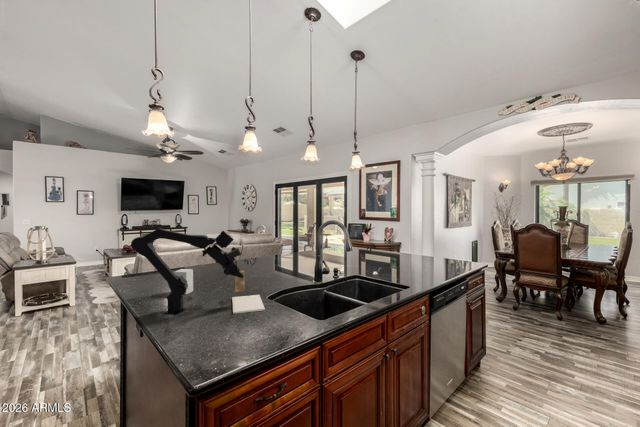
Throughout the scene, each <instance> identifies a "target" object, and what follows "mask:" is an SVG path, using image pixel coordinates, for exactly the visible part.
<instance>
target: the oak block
mask: <svg viewBox="0 0 640 427" xmlns="http://www.w3.org/2000/svg"><path fill="white" fill-rule="evenodd" d="M240 272H241V274H242V275H243V276H244V277H243V278H240V277H236V276H234V290H235V293H237V292H245V291H246V283H245V282H246V276H245V275H246V274H245V270H240Z"/></svg>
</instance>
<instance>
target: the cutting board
mask: <svg viewBox="0 0 640 427" xmlns="http://www.w3.org/2000/svg"><path fill="white" fill-rule="evenodd" d="M231 299H232V300H231V301H232V313H233V314H245V313H253V312H254V313H255V312H260V311H261V312H262V311H265V310H266V308H265V305H264V303H263V300H262V298H261V295H260V294H253V295H252V294H251V295H244V296H243V295H242V296H232V298H231Z"/></svg>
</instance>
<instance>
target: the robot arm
mask: <svg viewBox="0 0 640 427" xmlns="http://www.w3.org/2000/svg"><path fill="white" fill-rule="evenodd" d="M158 239H165V240H170V241H173V242H174V241H176V242H181V243H185V244H189V245H191V246H193V247H195V248H198V249H203V250H202V251H201V252H202V257H205V256H206V255H208V256H209V257H210V258H211V259H212V260H213V261H215V263H216V264H218V265H219V266H220V267H222V269H223V274H225V276H229V275H230V276H233V277H235V276H236V277H240V278H243V277H244V276H243V275H242V274H241V272H240V271H241V270H240V268H239V266H238V263H237V262H238V261H237V257H239V256H241V255H242V252H241V251H240V249H239V247H232V248H230V249H231V250H230V251H229V252H227V251H224V250H222V249H223V248H224V249H226V248H227V247H228V246H230V244H231V243H232V242H233V241H234V240H235V238H233V237H232V236H231V235H230V234H229V233H227V232H226V231H224V230H222V231H221V232H220V233H219V235H217V237H209V236H208V235H206V234H187V233H183V232H182V233H181V232H177V231H173V230H168V229H164V228H156V229H155V230H154V231H152V232H150V233H147V234H146V235H144V236H143V235H140V236H138V237H135V238H134V239H132V241H131V242H130V247H131V248H132V250H133V251H134V252H136V253H137V254H139V255H141V256H143V257H144V258H145V259H146V260H147V261H148V262H149V263H150V264H151V265H152V266H153V267H154V268H155V269H156V271H157V272H158V273H159V274H160V275H161V277H162V278H163V279H164V280H165V281H166V283H167V284H168V285H167V286H168V288H169V290H170V291H169V293H168V295H167V296H166V297H165V298H166V301H167V305H166V306H167V310H166V311H164V314H166V315H167V314H168V315H178V314H180V313H182V312H184V311H186V310H187V308H186V307H184V296H183V295H185V292H186V290H187V288H188V284H187V280H185V279H184V277H183V276H182V275H181V276H180V277H179V276H177V275H175V274H174V271H173V270H172V269H171V268H170V266H168V265H167V263H166V262H165V261H164V260H163V259H162V257H161V256H160V255H159V254H158V253H157V252H156V250H155V248H154V245H153V242H154V241H156V240H158ZM211 245H212V246H211Z"/></svg>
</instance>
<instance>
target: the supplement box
mask: <svg viewBox="0 0 640 427" xmlns="http://www.w3.org/2000/svg"><path fill="white" fill-rule="evenodd" d="M173 273H174V274H175V275H177V276H179V277H180V276H181V275H182V276H183V277H184V279H185V280H187V284H188V288H187V290H186V292H185V294H184V295H188V294H190V293H192V292H193V291H194V269H193V268H179V269H178V270H175V271H173Z"/></svg>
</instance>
